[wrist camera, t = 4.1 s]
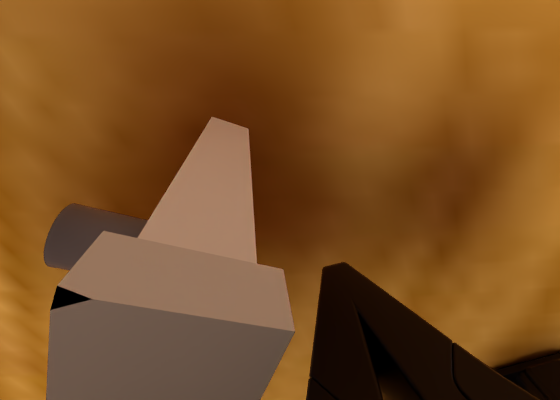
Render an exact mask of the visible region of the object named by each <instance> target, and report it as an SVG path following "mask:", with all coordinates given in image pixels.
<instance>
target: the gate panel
mask: <svg viewBox="0 0 560 400" xmlns="http://www.w3.org/2000/svg"><path fill="white" fill-rule="evenodd" d="M44 261H45V263H46V265H47V266H49V267H54V268H60V269H65V270H70V271H69V272H68V273H67V274H66V276H65V277H64V278H63V279H62V280H61V282H60V283H59V284H58V285H57V288H56V292H55V295H54V299H53V303H52V306H51V310H50V329H49V350H48V371H47V393H46V400H260V399H261V397H262V395H263V393H264V391H265V389H266V387H267V386H268V384H269V382H270V380H271V378H272V376H273V374H274V372H275V370H276V368H277V366H278V364H279V362H280V360H281V358H282V356H283V354H284V352H285V350H286V348H287V346H288V344H289V342H290V341H291V339H292V337H293V335H294V333H295V328H294V323H293V318H292V312H291V307H290V302H289V296H288V291H287V286H286V281H285V275H284V270H283V269H280V268H275V267H270V266H266V265H261V264H257V256H256V240H255V224H254V208H253V192H252V176H251V160H250V145H249V129H248V128H245V127H242V126H239V125H236V124H233V123H230V122H227V121H224V120H221V119H218V118H215V117H211V119H210V121H209V122H208V124H207V125H206V127H205V129H204V130H203V132H202V134H201V135H200V137H199V138H198V140H197V142H196V143H195V145H194V147H193V148H192V150H191V152H190V153H189V155H188V156H187V158H186V160H185V161H184V163H183V165H182V166H181V168H180V169H179V171H178V173H177V174H176V176H175V178H174V179H173V181H172V182H171V184H170V186H169V187H168V189H167V191H166V192H165V194H164V195H163V197H162V199H161V200H160V202H159V204H158V205H157V207H156V208H155V210H154V212H153V213H152V215H151V217H150V218H149V220H144V219H140V218H135V217H131V216H127V215H122V214H118V213H114V212H109V211H105V210H101V209H96V208H92V207H88V206H83V205H79V204H75V203H74V204H70V205H68V206H67V207H65V208H64V209H63V210H62V211H61V212H60V214H59V215H58V216H57V218H56V219H55V221H54V223H53V225H52V227H51V229H50V231H49V233H48V236H47V239H46V243H45V248H44Z"/></svg>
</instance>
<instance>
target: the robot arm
mask: <svg viewBox="0 0 560 400" xmlns="http://www.w3.org/2000/svg"><path fill="white" fill-rule="evenodd" d="M309 376H310V379H309V381H308V389H307V397H306V400H560V353H559V354H555V355H551V356H547V357H544V358H540V359H536V360H532V361H528V362H525V363H521V364H517V365H513V366H510V367H506V368H502V369H498V370H495V371H494V370H493V369H491V368H490V367H489V366H487V365H486V364H484V363H483V362H481V361H480V360H479V359H477V358H476V357H474V356H473V355H471V354H470V353H469V352H467V351H466V350H465V349H463V348H462V347H461V346H459V345H458V344H457V343H453V344H452V340H451V339H450V338H448V337H447V336H445V335H444V334H443V333H441V332H440V331H439V330H437V329H436V328H435V327H433V326H432V325H430V324H429V323H428V322H426V321H425V320H424V319H422V318H421V317H419V316H418V315H417V314H415V313H414V312H413V311H411V310H410V309H409V308H407V307H406V306H404V305H403V304H402V303H400V302H399V301H398V300H396V299H395V298H394V297H392V296H391V295H389V294H388V293H387V292H385V291H384V290H383V289H381V288H380V287H379V286H377V285H376V284H374V283H373V282H372V281H370V280H369V279H368V278H366V277H365V276H364V275H362V274H361V273H359V272H358V271H357V270H355V269H354V268H353V267H351V266H350V265H349V264H347V263H345V262H341V263H337V264H333V265H329V266H325V267H323V270H322V277H321V286H320V294H319V302H318V310H317V318H316V326H315V334H314V342H313V350H312V358H311V366H310V375H309Z"/></svg>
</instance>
